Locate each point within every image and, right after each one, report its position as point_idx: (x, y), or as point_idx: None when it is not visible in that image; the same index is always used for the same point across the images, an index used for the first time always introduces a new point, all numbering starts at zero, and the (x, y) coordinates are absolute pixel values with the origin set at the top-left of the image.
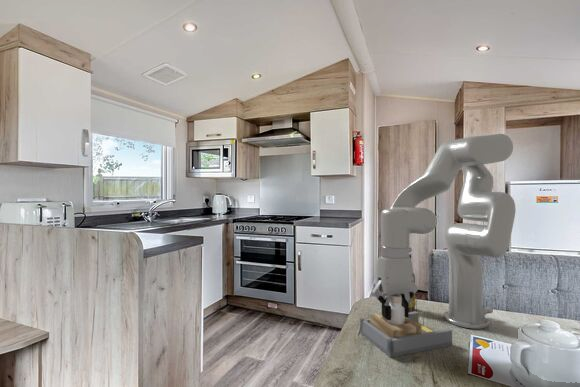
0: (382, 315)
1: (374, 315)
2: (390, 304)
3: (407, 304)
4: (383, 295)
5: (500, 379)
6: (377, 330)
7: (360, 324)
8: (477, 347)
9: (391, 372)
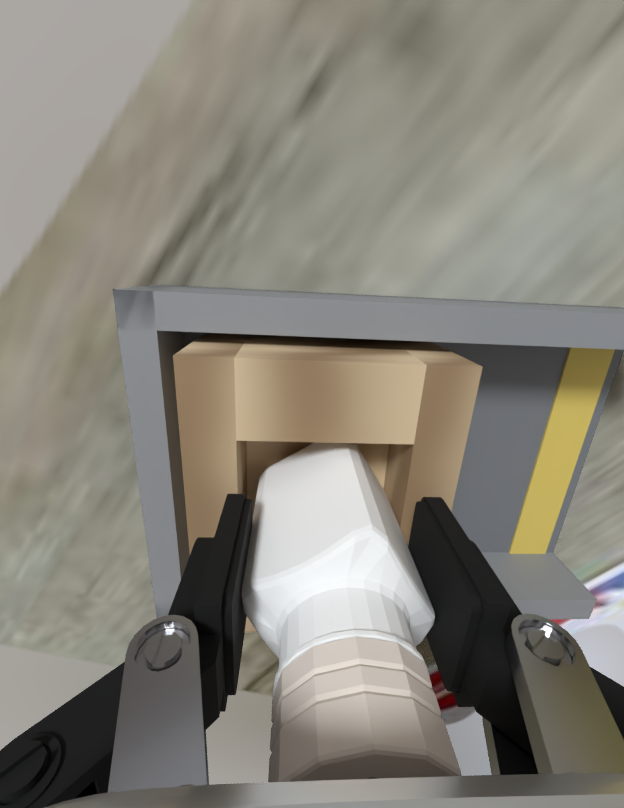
0: (227, 498)
1: (211, 384)
2: (282, 640)
3: (459, 697)
4: (152, 775)
5: (450, 723)
6: (157, 503)
7: (133, 287)
8: (607, 594)
9: (128, 629)
